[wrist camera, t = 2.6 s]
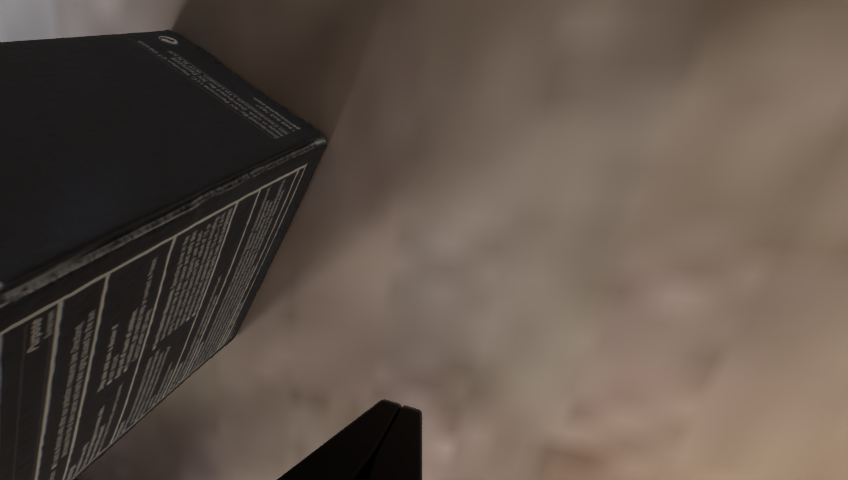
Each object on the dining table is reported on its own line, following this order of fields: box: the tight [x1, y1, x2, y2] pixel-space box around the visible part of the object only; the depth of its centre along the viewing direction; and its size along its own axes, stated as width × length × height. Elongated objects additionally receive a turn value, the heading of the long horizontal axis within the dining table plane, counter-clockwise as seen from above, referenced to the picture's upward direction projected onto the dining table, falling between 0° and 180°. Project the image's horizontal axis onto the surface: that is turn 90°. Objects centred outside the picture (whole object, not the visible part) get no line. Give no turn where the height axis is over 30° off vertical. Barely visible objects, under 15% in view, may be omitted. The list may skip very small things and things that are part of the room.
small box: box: [0, 30, 327, 480], centre depth 13 cm, size 11×6×10 cm, turn 150°
